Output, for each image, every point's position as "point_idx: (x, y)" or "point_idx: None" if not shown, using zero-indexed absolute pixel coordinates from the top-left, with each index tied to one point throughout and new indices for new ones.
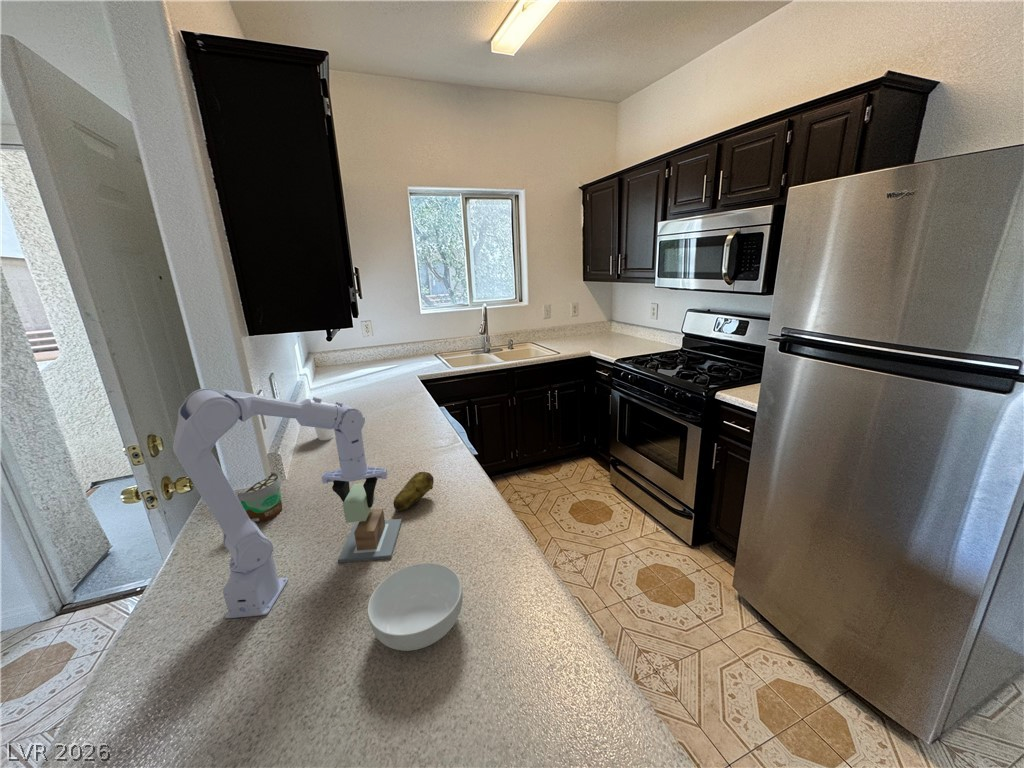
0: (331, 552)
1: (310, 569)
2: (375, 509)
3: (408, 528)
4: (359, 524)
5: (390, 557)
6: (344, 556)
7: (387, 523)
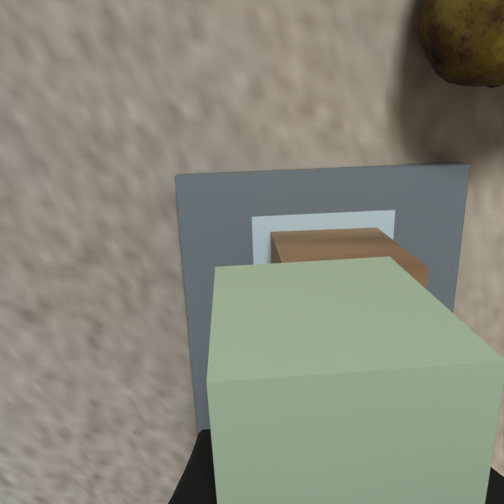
0: (138, 387)
1: (95, 478)
2: None
3: (499, 232)
4: None
5: None
6: None
7: (385, 205)
